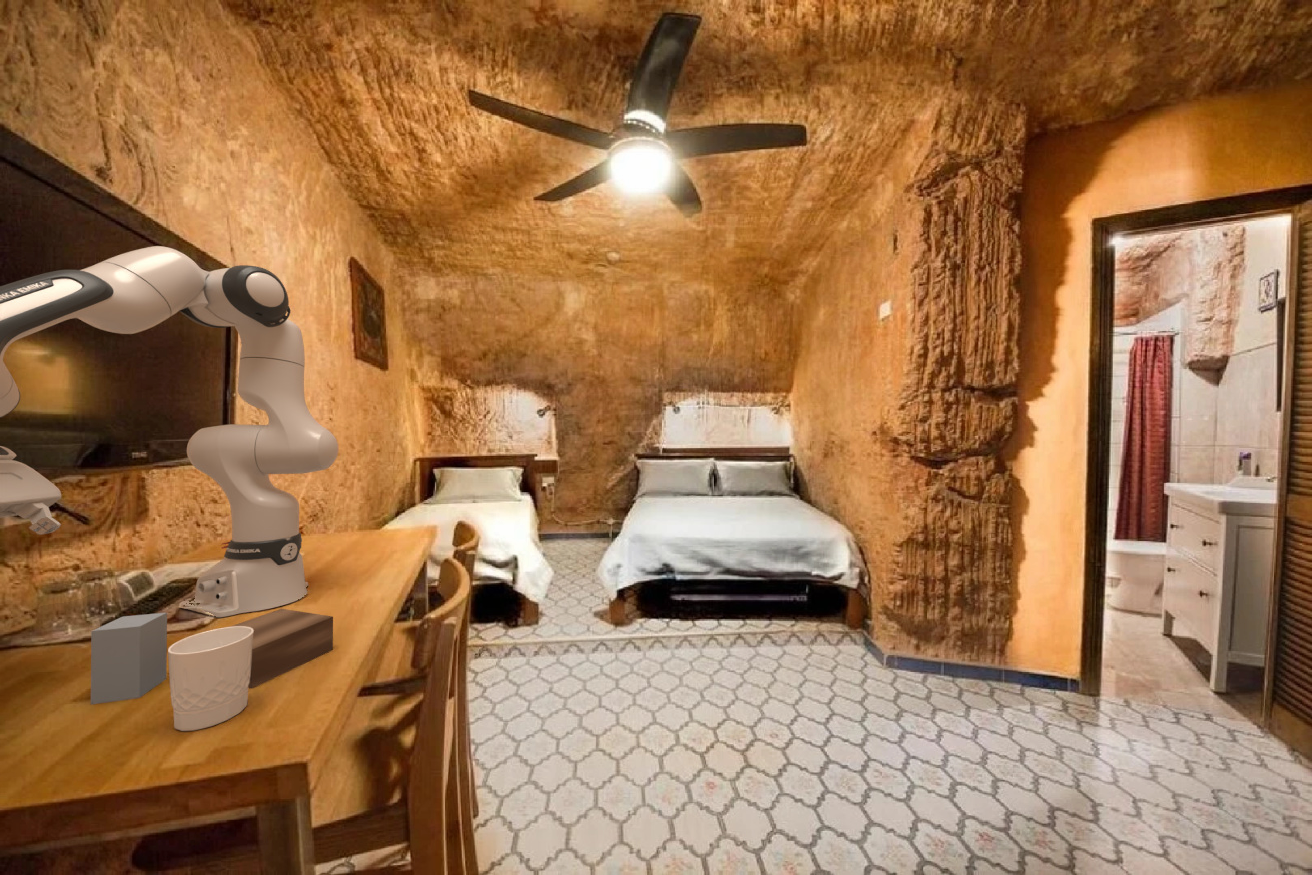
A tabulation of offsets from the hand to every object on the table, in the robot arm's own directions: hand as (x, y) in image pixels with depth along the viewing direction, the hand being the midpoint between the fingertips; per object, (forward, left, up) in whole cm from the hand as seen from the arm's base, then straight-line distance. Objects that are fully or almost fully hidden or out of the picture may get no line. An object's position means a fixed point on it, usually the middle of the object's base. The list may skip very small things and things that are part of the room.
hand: (16, 536), depth 58 cm
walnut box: (+21, +15, -23) cm, 35 cm away
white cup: (+28, +3, -23) cm, 36 cm away
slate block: (+10, +5, -23) cm, 26 cm away
